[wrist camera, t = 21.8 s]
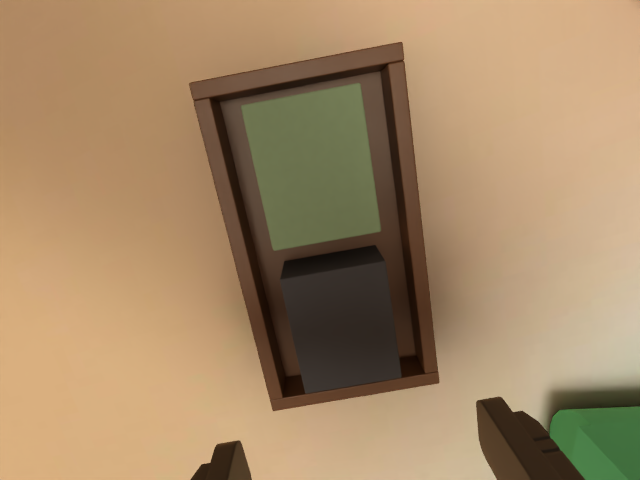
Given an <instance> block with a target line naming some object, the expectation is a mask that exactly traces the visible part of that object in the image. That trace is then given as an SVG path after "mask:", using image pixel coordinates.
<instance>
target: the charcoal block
mask: <svg viewBox="0 0 640 480" xmlns="http://www.w3.org/2000/svg"><path fill="white" fill-rule="evenodd" d="M280 284H281V288H282V293H283V297H284V302H285V306H286V310H287V315H288V319H289V324H290V328H291V333H292V337H293V342H294V346H295V350H296V355H297V359H298V364H299V368H300V373H301V377H302V382H303V386H304V390H305V393H306V394H307V393H313V392H319V391H325V390H331V389H336V388H342V387H348V386H354V385H360V384H366V383H372V382H378V381H384V380H390V379H396V378H401V377H402V375H401V368H400V360H399V353H398V346H397V339H396V332H395V325H394V317H393V310H392V303H391V296H390V289H389V282H388V274H387V267H386V261H385V260H384V258H383V256H382V255H381V253H380V252H379V250H378V248H377V247H376V245H373V246H367V247H361V248H356V249H350V250H345V251H339V252H333V253H328V254H322V255H317V256H311V257H305V258H300V259H294V260H289V261H284V264H283V269H282V273H281V277H280Z"/></svg>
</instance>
